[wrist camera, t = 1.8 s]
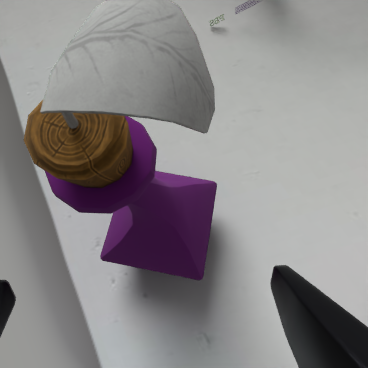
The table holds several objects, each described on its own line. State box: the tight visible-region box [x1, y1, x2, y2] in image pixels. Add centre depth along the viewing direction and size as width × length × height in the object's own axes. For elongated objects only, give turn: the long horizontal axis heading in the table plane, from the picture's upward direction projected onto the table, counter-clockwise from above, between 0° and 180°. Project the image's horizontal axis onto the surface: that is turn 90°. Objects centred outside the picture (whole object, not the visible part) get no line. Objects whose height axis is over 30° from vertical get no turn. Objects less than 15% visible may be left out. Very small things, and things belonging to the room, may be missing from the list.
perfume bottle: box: [24, 0, 217, 280], centre depth 12 cm, size 8×8×18 cm
